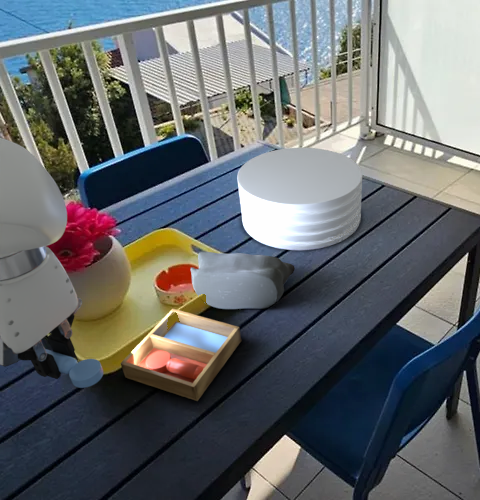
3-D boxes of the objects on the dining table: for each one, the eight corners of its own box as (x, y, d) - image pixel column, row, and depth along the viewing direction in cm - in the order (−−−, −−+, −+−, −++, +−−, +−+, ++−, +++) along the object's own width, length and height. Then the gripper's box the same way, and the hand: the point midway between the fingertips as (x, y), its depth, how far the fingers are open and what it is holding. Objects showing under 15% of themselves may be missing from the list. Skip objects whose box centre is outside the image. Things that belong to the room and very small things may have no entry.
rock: (296, 273, 101) (294, 241, 97) (289, 311, 92) (287, 278, 87) (206, 271, 101) (200, 239, 97) (190, 308, 92) (183, 275, 88)
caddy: (197, 401, 75) (194, 387, 74) (125, 377, 79) (120, 363, 77) (241, 340, 86) (239, 326, 84) (176, 322, 89) (172, 308, 87)
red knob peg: (142, 370, 79) (139, 361, 78) (157, 354, 82) (154, 344, 81) (198, 388, 76) (195, 379, 75) (211, 370, 79) (209, 361, 78)
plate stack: (378, 237, 112) (381, 193, 106) (254, 260, 104) (249, 213, 98) (339, 182, 134) (339, 141, 127) (234, 197, 126) (228, 155, 119)
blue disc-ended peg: (109, 370, 67) (105, 358, 66) (89, 391, 64) (84, 379, 63) (50, 351, 70) (44, 339, 68) (27, 370, 67) (21, 359, 65)
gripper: (39, 216, 64) (81, 322, 74) (-87, 289, 51) (-15, 405, 62) (86, 226, 62) (122, 334, 72) (-33, 306, 49) (32, 422, 60)
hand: (58, 366), depth 67 cm, fingers closed on blue disc-ended peg, 2 cm apart
